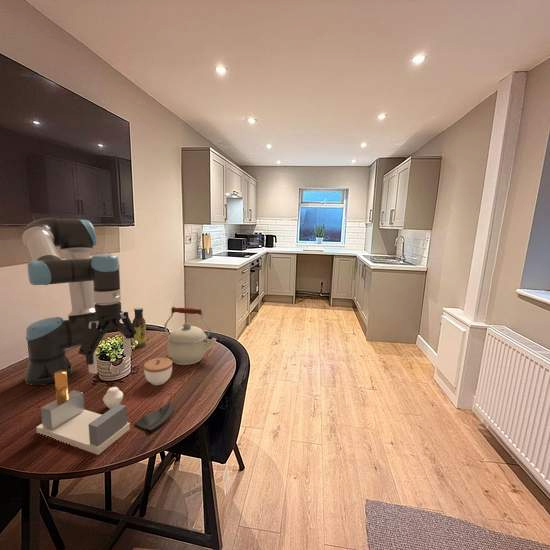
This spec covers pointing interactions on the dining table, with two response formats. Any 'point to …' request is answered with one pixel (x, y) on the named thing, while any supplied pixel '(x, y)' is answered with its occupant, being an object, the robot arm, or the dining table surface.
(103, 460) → the dining table surface
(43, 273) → the robot arm
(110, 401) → the white steamed bun
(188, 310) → the kettle
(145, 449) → the dining table surface
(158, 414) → the curved wedge
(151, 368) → the lidded jar
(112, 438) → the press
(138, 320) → the sauce bottle
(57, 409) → the ram
